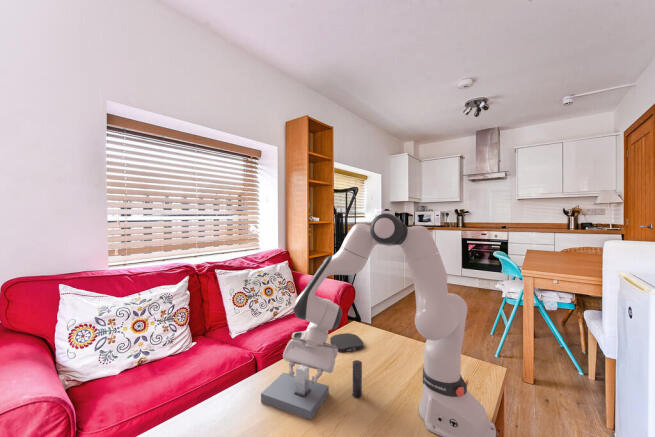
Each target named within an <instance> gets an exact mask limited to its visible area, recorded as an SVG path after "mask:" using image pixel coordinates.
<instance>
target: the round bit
mask: <svg viewBox="0 0 655 437" xmlns="http://www.w3.org/2000/svg"><path fill="white" fill-rule="evenodd" d="M362 396H363V362H362V361H361V360H359V359H356V360H353V361H352V397H353V398H355V399H360V398H362Z"/></svg>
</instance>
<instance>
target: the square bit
mask: <svg viewBox="0 0 655 437" xmlns="http://www.w3.org/2000/svg"><path fill="white" fill-rule="evenodd" d="M295 376H296V395H298V396H301V397H304V398H306V396H307V395H308V394H309V380H310V367H309V366H308V365H304V364H300V365H299V364H298V366H297V367H296V368H295Z"/></svg>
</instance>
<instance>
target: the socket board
mask: <svg viewBox="0 0 655 437" xmlns="http://www.w3.org/2000/svg"><path fill="white" fill-rule="evenodd" d="M311 380H312V379H311ZM311 380H310V379H309V394H308V395H307V396H306V398H304V397H301V396H298V395H296V375H294V376H293V377H291V376H289V375H288V373H286V372H282V373H281V374H280V375H279V376H278V377H277V378H276V379H275V380H274V381H273V382H271V383H270V384H269V386H267V387H266V388H265V389H264V390H263V391H262V392H260V402H261V403H263V404H266V405H269V406H271V407H273V408H276V407H277V409H279V410H281V411H285V412H286V413H287V412H288V413H290V414H293V415H295V416H299V417H302V418H303V419H307V420H310V421H311V420H312V418H313V417H314V416H315V414H316V413H317V411H318V410H319V409H320V407H321V406H322V404H323V403H324V401H326V399H327V397H328V396H329V394H330V387H329V386H330V385H327V384H324V383H320V382H317V383H316V384H314V383H312V382H311Z"/></svg>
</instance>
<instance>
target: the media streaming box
mask: <svg viewBox="0 0 655 437" xmlns="http://www.w3.org/2000/svg"><path fill="white" fill-rule="evenodd" d="M329 340H330V341H329V342H330V343H329V344H331V345H335V346H336V347H337V348H338V353H341V354H342V353H344V354H345V353H351V352H356V351H361V350H363V349H364V342H363V340H362V339H361V338H360V337H359V336H358V335H357V334H355V333H349V332H348V333H346V332H345V333H338V334H335V335H332V336H331V337H330V338H329Z"/></svg>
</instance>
